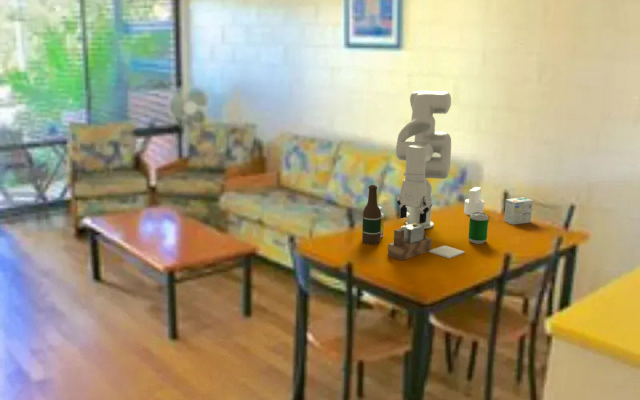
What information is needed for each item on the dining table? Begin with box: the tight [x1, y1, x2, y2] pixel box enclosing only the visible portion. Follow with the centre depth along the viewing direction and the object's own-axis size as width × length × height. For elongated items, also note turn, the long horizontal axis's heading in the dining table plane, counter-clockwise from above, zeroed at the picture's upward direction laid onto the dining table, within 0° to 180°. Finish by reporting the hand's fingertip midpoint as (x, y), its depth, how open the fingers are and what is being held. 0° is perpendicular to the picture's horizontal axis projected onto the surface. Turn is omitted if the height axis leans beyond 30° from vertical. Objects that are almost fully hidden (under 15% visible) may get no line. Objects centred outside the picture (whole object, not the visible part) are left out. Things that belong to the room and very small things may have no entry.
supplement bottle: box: [378, 205, 385, 239], centre depth 286 cm, size 7×7×13 cm
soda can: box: [468, 212, 489, 245], centre depth 280 cm, size 8×8×12 cm
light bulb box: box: [503, 196, 533, 225], centre depth 309 cm, size 11×7×11 cm, turn 114°
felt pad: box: [428, 245, 466, 259], centre depth 268 cm, size 10×10×1 cm
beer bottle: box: [361, 184, 382, 245], centre depth 277 cm, size 8×8×24 cm
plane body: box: [387, 228, 433, 261], centre depth 265 cm, size 18×7×11 cm, turn 133°
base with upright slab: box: [463, 186, 485, 216], centre depth 323 cm, size 9×9×12 cm
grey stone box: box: [400, 223, 425, 244], centre depth 265 cm, size 8×5×7 cm, turn 133°
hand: (412, 220), depth 263 cm, fingers open, 9 cm apart
